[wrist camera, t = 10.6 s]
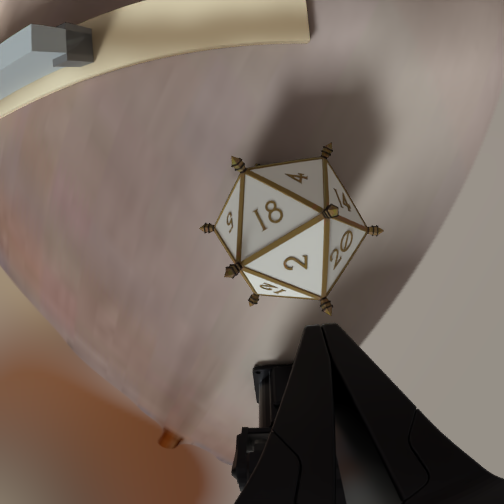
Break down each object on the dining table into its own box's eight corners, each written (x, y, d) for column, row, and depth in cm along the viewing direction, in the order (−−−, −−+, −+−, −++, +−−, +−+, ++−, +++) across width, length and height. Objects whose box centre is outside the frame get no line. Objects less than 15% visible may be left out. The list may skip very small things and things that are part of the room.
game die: (280, 158, 21) (351, 85, 12) (341, 256, 22) (443, 243, 12) (171, 220, 19) (168, 167, 9) (242, 329, 20) (303, 376, 10)
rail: (307, 43, 14) (321, 30, 10) (-20, 130, 15) (-52, 142, 12) (300, -14, 12) (312, -38, 8) (-24, 88, 13) (-57, 96, 10)
